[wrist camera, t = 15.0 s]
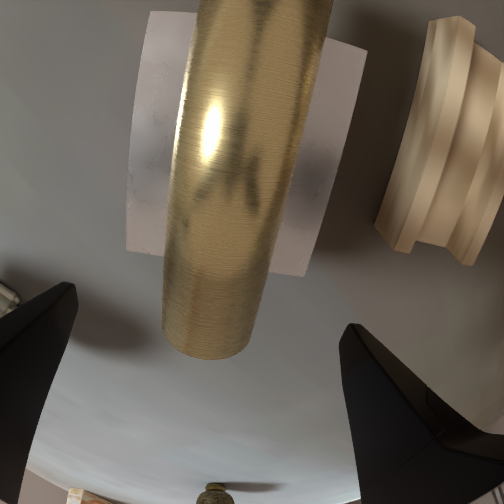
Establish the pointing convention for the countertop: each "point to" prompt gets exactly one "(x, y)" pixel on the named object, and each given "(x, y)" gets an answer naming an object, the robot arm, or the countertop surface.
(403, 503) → the robot arm
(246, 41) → the axle
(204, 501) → the cup
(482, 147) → the beam
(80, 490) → the coffeecake box
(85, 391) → the countertop surface
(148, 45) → the cradle
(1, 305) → the pneumatic valve
